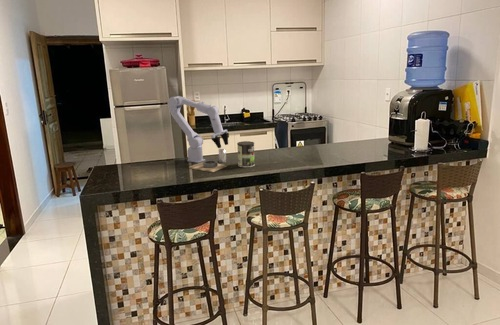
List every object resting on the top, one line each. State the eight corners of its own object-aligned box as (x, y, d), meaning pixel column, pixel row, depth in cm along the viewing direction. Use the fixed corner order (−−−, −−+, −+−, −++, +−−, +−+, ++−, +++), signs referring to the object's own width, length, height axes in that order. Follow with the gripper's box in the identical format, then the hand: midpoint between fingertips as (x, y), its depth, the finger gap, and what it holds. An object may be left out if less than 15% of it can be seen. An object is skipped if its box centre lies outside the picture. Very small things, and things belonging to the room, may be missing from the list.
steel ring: (200, 167, 220) (200, 163, 219) (209, 163, 227) (209, 159, 226) (211, 168, 215) (211, 164, 215) (220, 165, 222) (220, 161, 222)
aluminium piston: (217, 162, 234) (217, 150, 232) (221, 160, 238) (221, 148, 236) (223, 163, 232) (222, 150, 230) (227, 161, 235) (227, 149, 233)
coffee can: (257, 164, 227) (257, 142, 223) (249, 168, 218) (248, 145, 215) (243, 162, 232) (243, 140, 228) (234, 166, 224) (233, 143, 220)
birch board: (189, 168, 221) (188, 166, 221) (203, 162, 233) (203, 161, 233) (212, 172, 212) (212, 170, 212) (226, 166, 223) (226, 164, 223)
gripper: (214, 127, 220) (221, 148, 223) (228, 121, 232) (234, 142, 234) (206, 129, 224) (212, 150, 227) (220, 123, 236) (226, 143, 238)
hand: (223, 146), depth 231 cm, fingers open, 7 cm apart
